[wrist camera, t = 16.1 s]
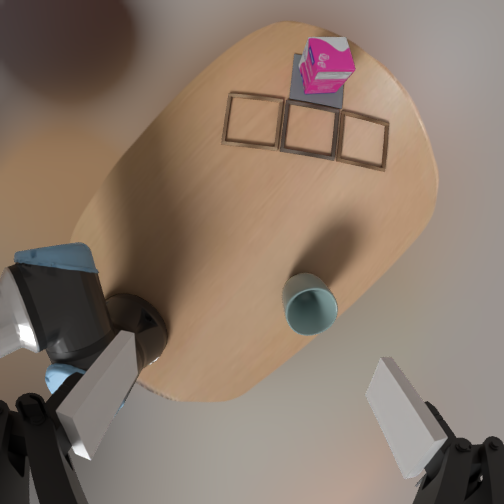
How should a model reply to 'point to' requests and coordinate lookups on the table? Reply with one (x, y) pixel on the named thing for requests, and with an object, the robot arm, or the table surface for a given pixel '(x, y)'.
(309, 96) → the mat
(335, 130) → the frame
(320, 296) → the cup
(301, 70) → the supplement box
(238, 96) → the frame
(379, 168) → the frame
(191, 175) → the table surface
